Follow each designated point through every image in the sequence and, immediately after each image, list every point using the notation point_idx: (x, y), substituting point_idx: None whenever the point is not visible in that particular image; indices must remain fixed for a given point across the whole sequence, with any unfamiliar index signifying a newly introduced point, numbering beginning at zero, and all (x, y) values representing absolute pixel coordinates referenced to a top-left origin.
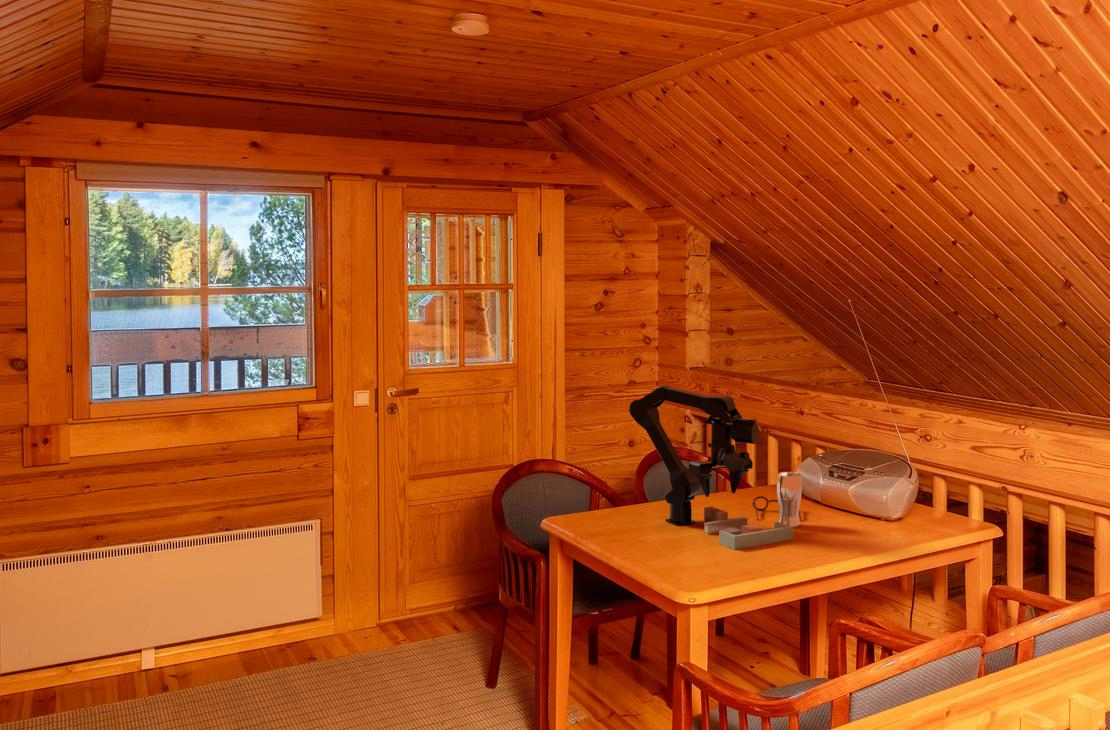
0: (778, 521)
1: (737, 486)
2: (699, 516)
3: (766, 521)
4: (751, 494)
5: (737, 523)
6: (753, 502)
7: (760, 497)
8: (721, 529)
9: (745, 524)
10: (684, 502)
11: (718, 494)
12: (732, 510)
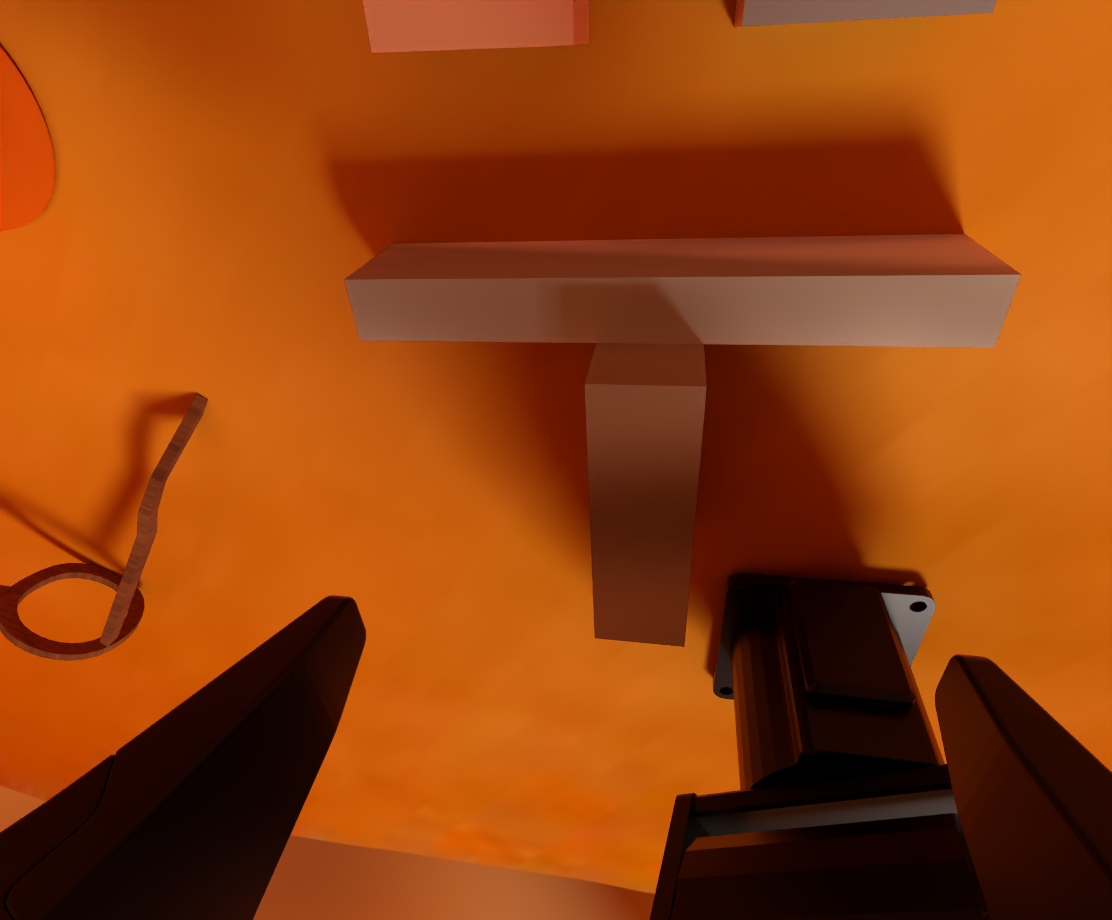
0: (16, 173)
1: (215, 679)
2: (570, 663)
3: (138, 343)
4: (96, 759)
5: (503, 263)
6: (120, 634)
7: (38, 641)
8: (990, 6)
9: (400, 256)
10: (904, 777)
11: None
12: None
